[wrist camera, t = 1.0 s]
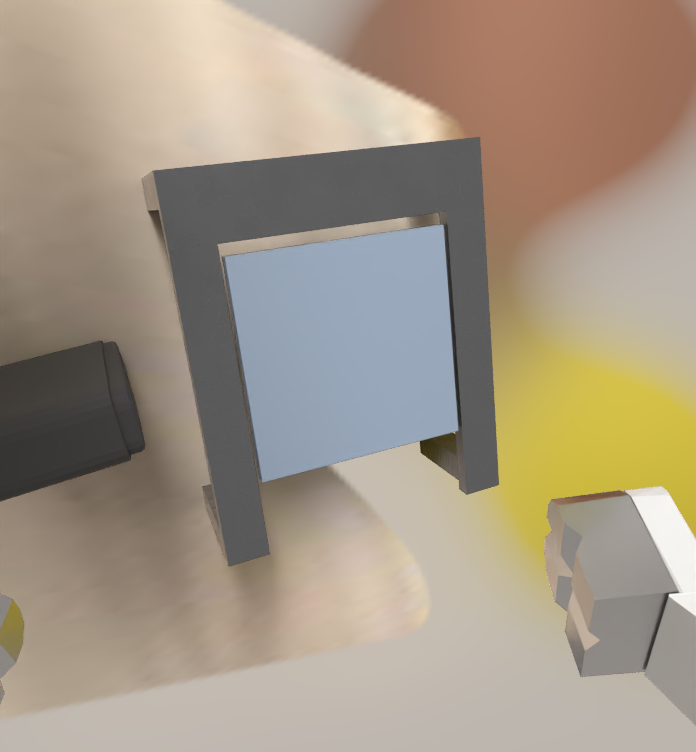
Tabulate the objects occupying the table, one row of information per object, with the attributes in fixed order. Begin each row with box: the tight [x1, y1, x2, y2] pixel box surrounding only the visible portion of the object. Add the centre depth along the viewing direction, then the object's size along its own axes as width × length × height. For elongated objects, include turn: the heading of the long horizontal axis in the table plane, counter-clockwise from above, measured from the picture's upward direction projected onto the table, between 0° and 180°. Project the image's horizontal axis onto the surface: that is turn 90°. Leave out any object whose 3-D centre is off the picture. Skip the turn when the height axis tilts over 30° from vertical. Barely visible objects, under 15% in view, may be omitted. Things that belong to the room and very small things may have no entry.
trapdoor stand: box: [142, 137, 499, 566], centre depth 45 cm, size 24×20×8 cm
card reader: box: [0, 341, 145, 501], centre depth 36 cm, size 9×4×15 cm, turn 102°
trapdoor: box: [222, 225, 458, 482], centre depth 41 cm, size 14×14×1 cm
